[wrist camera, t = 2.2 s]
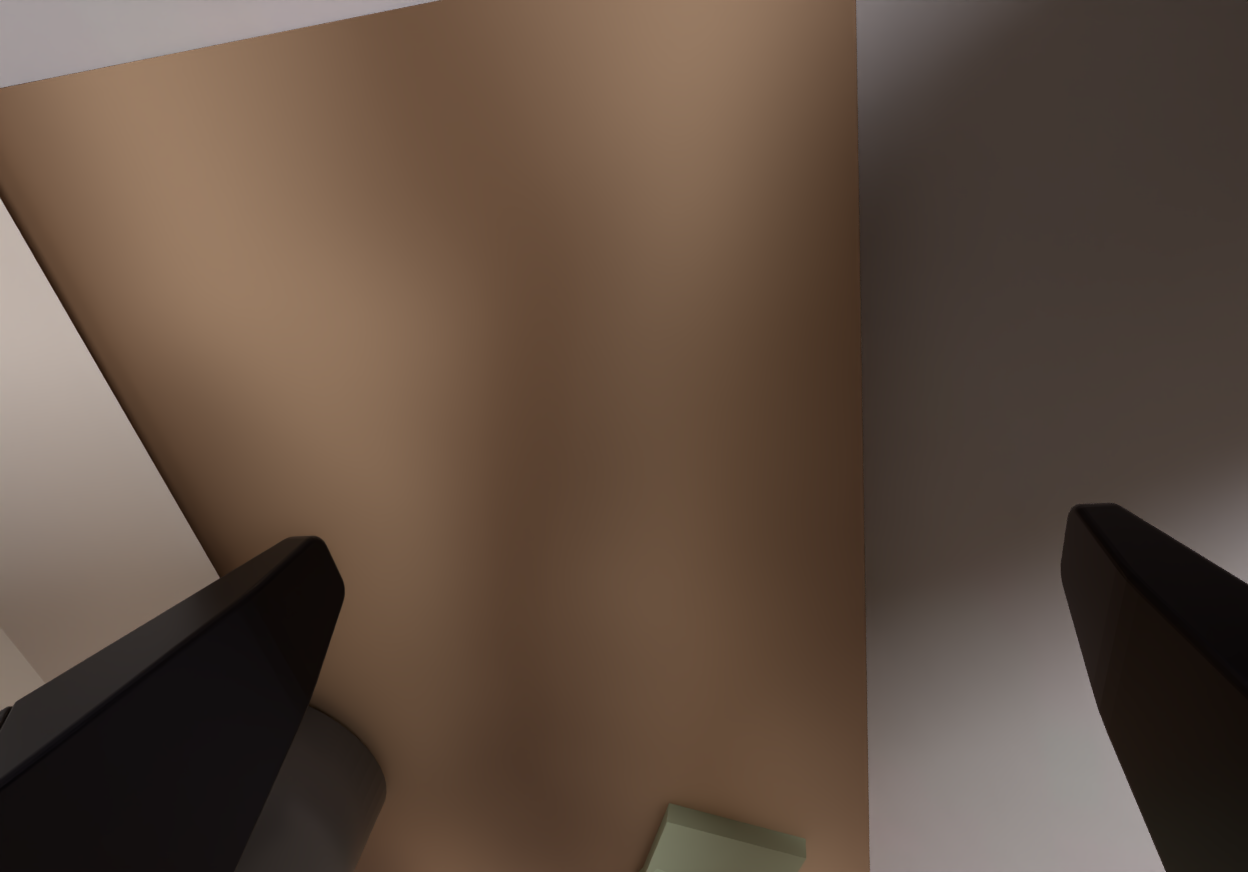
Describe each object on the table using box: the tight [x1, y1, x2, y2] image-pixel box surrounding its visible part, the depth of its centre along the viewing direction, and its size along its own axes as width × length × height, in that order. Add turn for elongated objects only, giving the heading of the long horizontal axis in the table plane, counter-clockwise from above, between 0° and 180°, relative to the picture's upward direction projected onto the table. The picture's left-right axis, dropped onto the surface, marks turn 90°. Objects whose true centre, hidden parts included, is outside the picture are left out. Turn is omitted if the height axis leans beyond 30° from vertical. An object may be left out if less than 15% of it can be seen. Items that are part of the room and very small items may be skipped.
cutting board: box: [0, 0, 870, 872], centre depth 17 cm, size 24×25×2 cm
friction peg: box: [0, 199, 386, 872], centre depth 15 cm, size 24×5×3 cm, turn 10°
